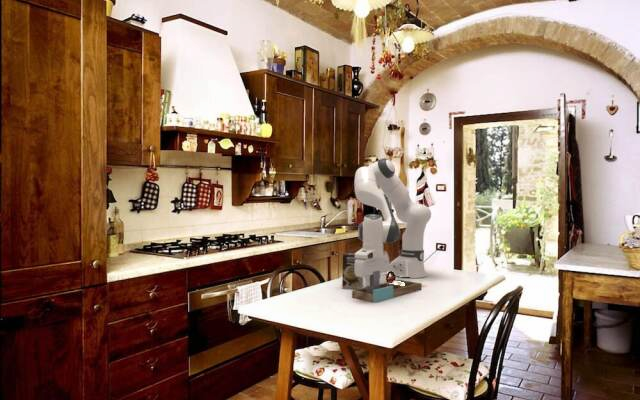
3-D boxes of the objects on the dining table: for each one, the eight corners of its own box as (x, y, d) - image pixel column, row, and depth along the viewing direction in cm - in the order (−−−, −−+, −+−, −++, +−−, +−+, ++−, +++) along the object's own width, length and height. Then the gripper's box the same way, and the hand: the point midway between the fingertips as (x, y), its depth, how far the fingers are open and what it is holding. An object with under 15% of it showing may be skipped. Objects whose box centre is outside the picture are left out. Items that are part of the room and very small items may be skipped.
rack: (352, 297, 196) (352, 286, 196) (399, 285, 221) (399, 275, 221) (375, 302, 187) (375, 290, 187) (421, 289, 212) (421, 279, 212)
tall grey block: (366, 294, 196) (366, 270, 196) (372, 292, 199) (372, 269, 199) (373, 295, 193) (373, 271, 193) (379, 294, 196) (379, 270, 196)
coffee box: (341, 288, 214) (342, 254, 214) (344, 285, 220) (344, 252, 220) (361, 289, 212) (361, 254, 211) (363, 286, 218) (363, 253, 218)
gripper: (381, 249, 205) (381, 280, 206) (351, 254, 191) (351, 287, 191) (393, 250, 201) (393, 282, 201) (363, 255, 186) (363, 289, 187)
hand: (372, 284), depth 196 cm, fingers closed on tall grey block, 4 cm apart
